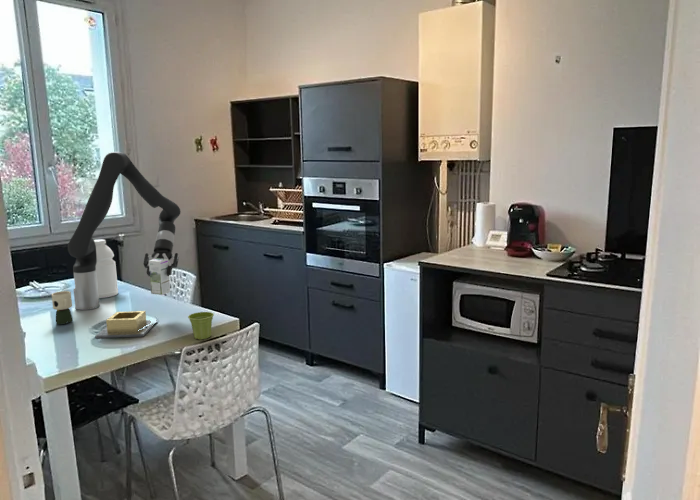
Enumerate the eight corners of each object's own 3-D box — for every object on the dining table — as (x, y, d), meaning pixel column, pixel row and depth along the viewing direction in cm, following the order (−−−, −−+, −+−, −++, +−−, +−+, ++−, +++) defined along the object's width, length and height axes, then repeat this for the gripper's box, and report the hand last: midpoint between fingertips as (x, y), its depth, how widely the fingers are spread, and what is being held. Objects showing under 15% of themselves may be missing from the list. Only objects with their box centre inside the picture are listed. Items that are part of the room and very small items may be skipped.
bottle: (103, 290, 279) (98, 237, 274) (124, 292, 274) (119, 238, 270) (81, 297, 266) (75, 241, 261) (103, 299, 261) (98, 243, 256)
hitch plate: (95, 338, 205) (94, 323, 204) (113, 323, 222) (111, 309, 221) (143, 336, 206) (142, 321, 205) (157, 322, 223) (156, 308, 222)
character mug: (51, 322, 226) (47, 292, 223) (69, 318, 230) (66, 289, 228) (59, 328, 218) (55, 297, 215) (77, 324, 223) (74, 293, 220)
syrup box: (170, 291, 228) (168, 258, 226) (161, 295, 223) (159, 261, 220) (159, 290, 230) (157, 257, 228) (150, 294, 225) (148, 260, 222)
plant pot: (191, 342, 198) (189, 320, 196) (188, 335, 206) (186, 313, 205) (217, 339, 202) (215, 316, 200) (212, 331, 210) (211, 310, 209)
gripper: (145, 238, 230) (138, 270, 220) (179, 238, 231) (173, 270, 221) (149, 248, 236) (143, 280, 226) (183, 248, 237) (177, 279, 227)
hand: (158, 275), depth 224 cm, fingers closed on syrup box, 7 cm apart
